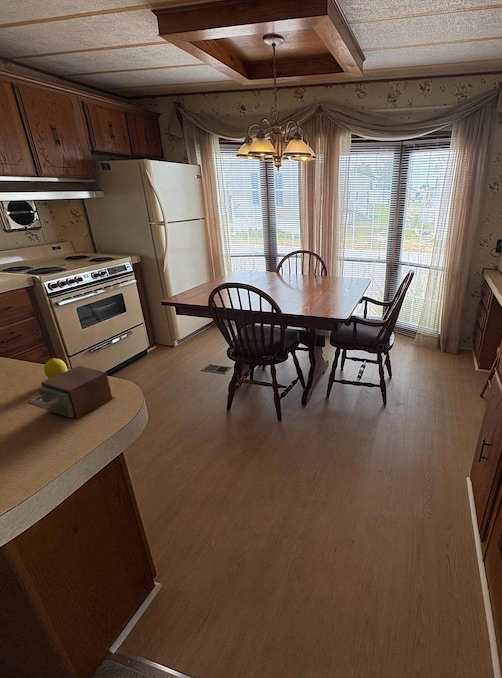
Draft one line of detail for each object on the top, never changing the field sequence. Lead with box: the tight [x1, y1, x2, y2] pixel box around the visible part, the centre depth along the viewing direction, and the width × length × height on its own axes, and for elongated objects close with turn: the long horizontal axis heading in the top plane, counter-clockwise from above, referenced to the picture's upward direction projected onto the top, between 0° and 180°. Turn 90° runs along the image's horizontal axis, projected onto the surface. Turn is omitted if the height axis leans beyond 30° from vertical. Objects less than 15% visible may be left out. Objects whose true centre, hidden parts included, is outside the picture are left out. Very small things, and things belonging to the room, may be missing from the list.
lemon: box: [43, 357, 68, 379], centre depth 106 cm, size 6×6×8 cm
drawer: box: [26, 385, 75, 418], centre depth 92 cm, size 14×9×7 cm
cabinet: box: [40, 365, 113, 419], centre depth 95 cm, size 11×11×9 cm
